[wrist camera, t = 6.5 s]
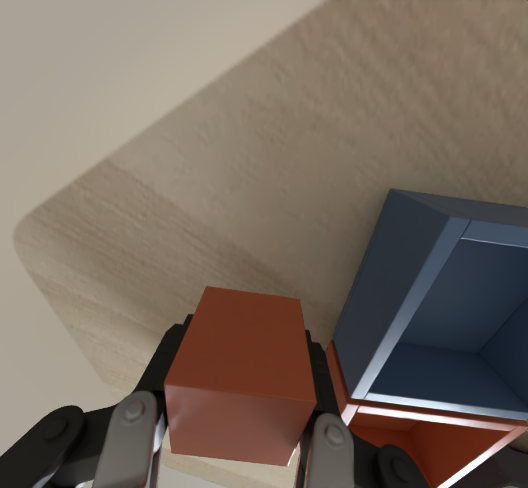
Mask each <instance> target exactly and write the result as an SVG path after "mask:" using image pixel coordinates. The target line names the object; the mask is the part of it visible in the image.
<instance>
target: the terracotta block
mask: <svg viewBox="0 0 528 488" xmlns="http://www.w3.org/2000/svg"><path fill="white" fill-rule="evenodd" d="M164 390H165V399H166V408H167V418H168V427H169V436H170V445H171V453H174V454H183V455H192V456H200V457H209V458H218V459H226V460H235V461H244V462H252V463H261V464H270V465H278V466H288V464H289V462H290V460H291V457H292V455H293V453H294V451H295V449H296V447H297V444H298V442H299V440H300V438H301V436H302V433H303V431H304V429H305V427H306V425H307V422H308V420H309V418H310V416H311V414H312V412H313V409H314V407H315V405H316V402H317V400H316V394H315V388H314V382H313V376H312V370H311V364H310V358H309V352H308V346H307V339H306V333H305V327H304V321H303V315H302V309H301V303H300V299H295V298H288V297H281V296H273V295H266V294H259V293H252V292H245V291H238V290H230V289H223V288H216V287H209V286H207V287H206V289H205V291H204V293H203V295H202V298H201V300H200V302H199V304H198V307H197V309H196V311H195V313H194V316H193V318H192V320H191V322H190V325H189V327H188V329H187V332H186V334H185V336H184V338H183V341H182V343H181V345H180V347H179V350H178V352H177V354H176V356H175V359H174V361H173V363H172V365H171V368H170V370H169V372H168V374H167V377H166V379H165V381H164Z"/></svg>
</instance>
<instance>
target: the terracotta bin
mask: <svg viewBox="0 0 528 488" xmlns="http://www.w3.org/2000/svg"><path fill="white" fill-rule="evenodd" d="M326 358H327V362H328V367H329V371H330V375H331V379H332V383H333V387H334V391H335V396H336V400H337V404H338V408H339V412H340V415H341V417H342V419H343V421H344V422H345V424H346V425H347V426H348V428H349V429H350V430H351V431H352V432H353V433H354V434H355V435H357V436H358V437H360V438H362V439H364V440H365V441H367V442H369V443H371V444H373V445H375V446H377V447H379V448H381V447H382V446H383V445H385V444H393V445H396V446H398V447H400V448H401V449H403V450H404V451H405V452H406V453H407V454H408V455H409V456H410V457H411V458H412V459H413V461H414V462H415V463H416V465H417V466H418V468H419V470H420V471H421V473H422V475H423V476H424V478H425V479H426V481H427V483H428V484H429V486H430V487H431V488H448V487H449V486H451V485H452V484H453V483H455V482H456V481H457V480H459V479H460V478H462V477H463V476H464V475H466V474H467V473H468V472H470V471H471V470H473V469H474V468H475V467H477V466H478V465H479V464H481V463H482V462H484V461H485V460H486V459H488V458H489V457H490V456H492V455H493V454H495V453H496V452H497V451H499V450H500V449H501V448H503V447H504V446H506V445H507V444H508V443H510V442H511V441H512V440H514V439H515V438H517V437H518V436H519V435H521V434H522V433H523V432H525V431H526V430H527V429H528V423H527V422H526V421H525V420H520V419H512V418H505V417H497V416H489V415H481V414H473V413H465V412H458V411H450V410H442V409H434V408H426V407H418V406H411V405H403V404H395V403H387V402H379V401H371V400H364V399H355V398H350V395H349V392H348V388H347V385H346V381H345V378H344V374H343V371H342V367H341V363H340V360H339V356H338V353H337V349H336V346H335V342H330V344H329V347H328V349H327V352H326Z"/></svg>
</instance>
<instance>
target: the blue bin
mask: <svg viewBox="0 0 528 488" xmlns="http://www.w3.org/2000/svg"><path fill="white" fill-rule="evenodd" d="M333 339H334V342H335V346H336V349H337V353H338V356H339V360H340V363H341V367H342V371H343V374H344V378H345V381H346V385H347V388H348V392H349V395H350V398H355V399H364V400H371V401H379V402H387V403H395V404H403V405H411V406H418V407H426V408H434V409H442V410H450V411H458V412H465V413H473V414H481V415H489V416H497V417H505V418H512V419H520V420H528V208H525V207H518V206H511V205H504V204H496V203H489V202H482V201H475V200H468V199H461V198H454V197H447V196H440V195H433V194H426V193H419V192H412V191H404V190H397V189H390V191H389V194H388V196H387V199H386V202H385V204H384V207H383V209H382V212H381V214H380V217H379V219H378V222H377V224H376V227H375V230H374V232H373V235H372V237H371V240H370V242H369V245H368V247H367V250H366V253H365V255H364V258H363V260H362V263H361V265H360V268H359V270H358V273H357V275H356V278H355V281H354V283H353V286H352V288H351V291H350V293H349V296H348V298H347V301H346V303H345V306H344V309H343V311H342V314H341V316H340V319H339V321H338V324H337V326H336V329H335V332H334V334H333Z"/></svg>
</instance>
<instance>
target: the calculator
mask: <svg viewBox="0 0 528 488" xmlns="http://www.w3.org/2000/svg"><path fill="white" fill-rule="evenodd" d="M448 488H528V455H527V454H524V453H521V452H517V451H514V450H512V449H510V448H509V447H508V446H507V445H506V446H504V447H503V448H501V449H500V450H499V451H497V452H496V453H495V454H493V455H492V456H490V457H489V458H488V459H486V460H485V461H484V462H482V463H481V464H479V465H478V466H477V467H475V468H474V469H473V470H471V471H470V472H468V473H467V474H466V475H464V476H463V477H462V478H460V479H459V480H457V481H456V482H455V483H453V484H452V485H451V486H449V487H448Z"/></svg>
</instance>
